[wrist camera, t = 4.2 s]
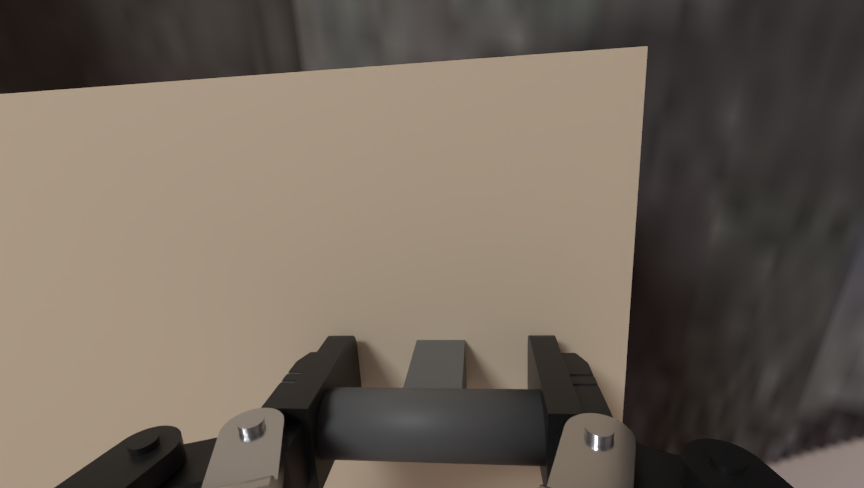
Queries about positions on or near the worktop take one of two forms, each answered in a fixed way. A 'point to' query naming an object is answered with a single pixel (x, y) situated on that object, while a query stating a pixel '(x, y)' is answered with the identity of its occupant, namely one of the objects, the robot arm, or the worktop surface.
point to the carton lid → (318, 258)
